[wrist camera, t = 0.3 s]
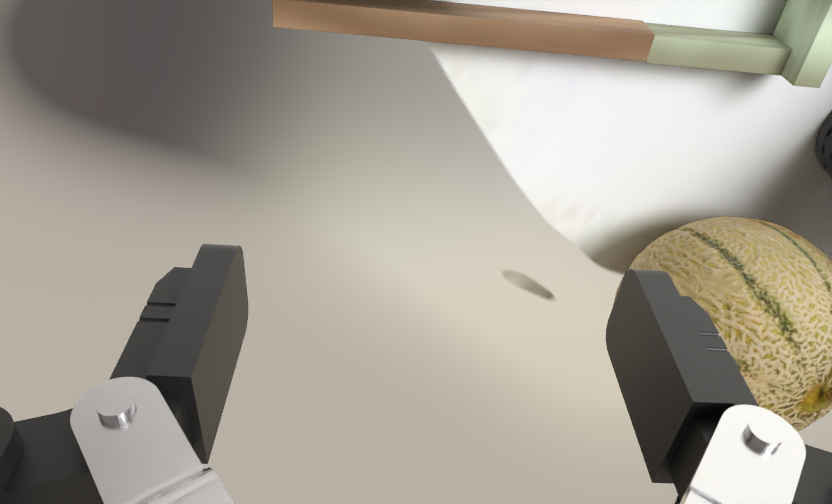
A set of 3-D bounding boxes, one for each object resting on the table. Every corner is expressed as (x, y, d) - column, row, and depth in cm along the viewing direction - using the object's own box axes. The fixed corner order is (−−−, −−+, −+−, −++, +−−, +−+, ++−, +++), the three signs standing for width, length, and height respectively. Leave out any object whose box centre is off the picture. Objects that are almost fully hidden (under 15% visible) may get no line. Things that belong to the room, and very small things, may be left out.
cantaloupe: (550, 274, 49) (596, 438, 37) (709, 135, 42) (828, 280, 30) (674, 357, 55) (749, 523, 43) (833, 246, 48) (976, 406, 36)
